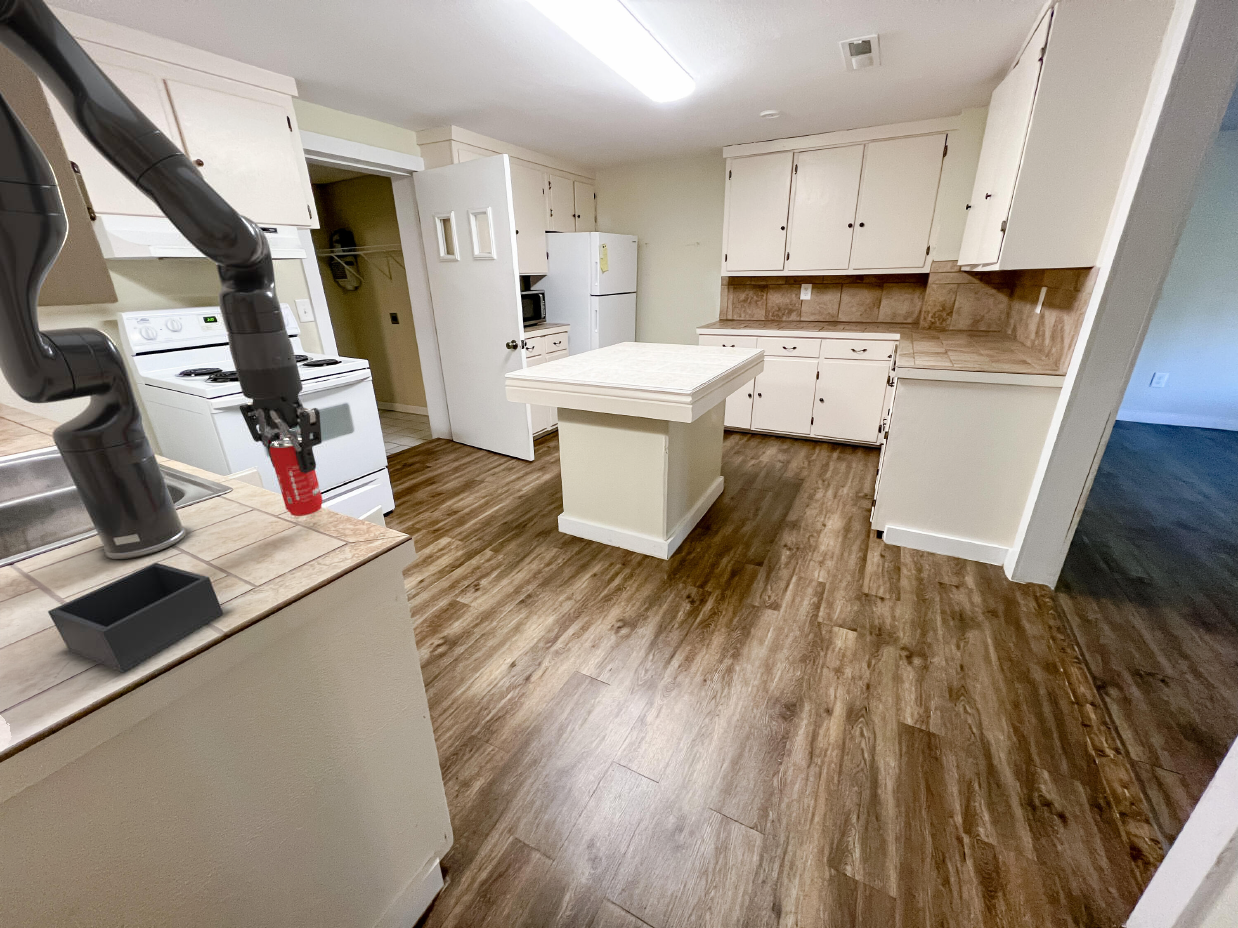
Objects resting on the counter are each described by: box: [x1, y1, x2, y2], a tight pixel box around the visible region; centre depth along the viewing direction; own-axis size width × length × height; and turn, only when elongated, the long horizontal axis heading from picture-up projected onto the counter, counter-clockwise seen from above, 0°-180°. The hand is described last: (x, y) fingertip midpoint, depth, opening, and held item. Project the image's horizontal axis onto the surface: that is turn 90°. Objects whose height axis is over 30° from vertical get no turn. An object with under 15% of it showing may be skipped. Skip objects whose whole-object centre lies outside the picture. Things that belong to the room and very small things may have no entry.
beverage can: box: [270, 436, 324, 517], centre depth 78 cm, size 5×5×12 cm
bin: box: [47, 562, 224, 674], centre depth 57 cm, size 10×10×6 cm
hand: (294, 468), depth 78 cm, fingers closed on beverage can, 5 cm apart
